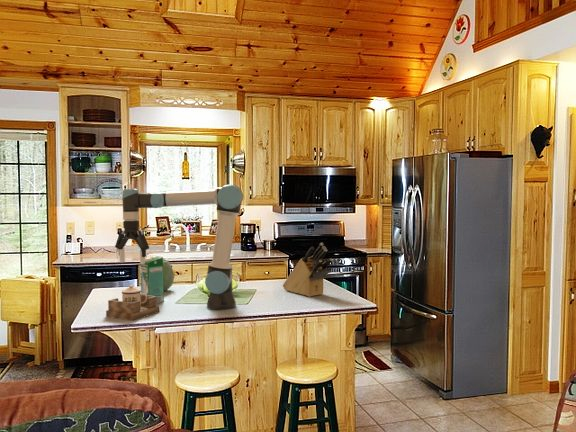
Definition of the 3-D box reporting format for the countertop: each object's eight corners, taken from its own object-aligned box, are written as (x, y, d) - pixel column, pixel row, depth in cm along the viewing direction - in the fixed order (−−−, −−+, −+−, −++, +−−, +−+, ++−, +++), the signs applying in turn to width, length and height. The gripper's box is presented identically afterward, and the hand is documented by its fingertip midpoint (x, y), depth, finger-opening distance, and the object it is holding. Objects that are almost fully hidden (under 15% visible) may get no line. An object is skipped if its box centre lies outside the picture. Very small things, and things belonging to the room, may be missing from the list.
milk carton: (140, 301, 279) (139, 257, 277) (155, 299, 285) (154, 255, 284) (149, 304, 272) (148, 258, 271) (163, 301, 279) (162, 256, 277)
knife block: (319, 300, 279) (318, 244, 278) (282, 290, 308) (281, 239, 306) (334, 297, 286) (334, 243, 284) (296, 287, 314) (296, 238, 313)
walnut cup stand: (159, 311, 255) (159, 296, 255) (132, 320, 238) (131, 303, 238) (134, 308, 263) (133, 293, 262) (106, 316, 246) (105, 300, 246)
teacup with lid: (121, 311, 244) (120, 287, 244) (123, 307, 253) (122, 284, 252) (146, 309, 247) (146, 286, 246) (147, 305, 256) (147, 283, 255)
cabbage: (149, 295, 296) (149, 261, 295) (147, 289, 314) (146, 257, 313) (176, 293, 301) (176, 260, 300) (173, 287, 319) (172, 256, 318)
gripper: (155, 220, 246) (156, 263, 247) (118, 219, 257) (119, 260, 258) (145, 221, 239) (146, 265, 240) (106, 220, 250) (108, 262, 251)
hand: (132, 262), depth 249 cm, fingers open, 13 cm apart
